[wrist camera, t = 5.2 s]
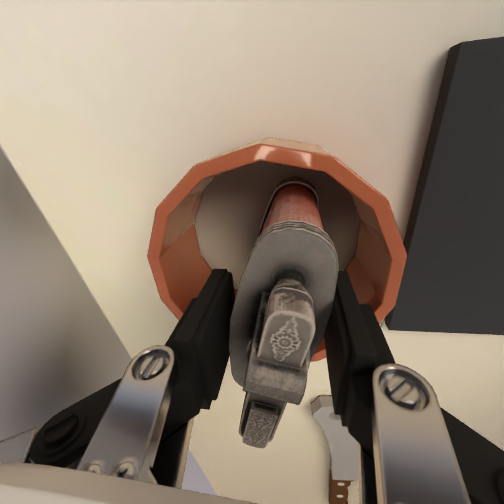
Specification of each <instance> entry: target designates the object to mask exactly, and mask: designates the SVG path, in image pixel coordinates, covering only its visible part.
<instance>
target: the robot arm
mask: <svg viewBox="0 0 504 504" xmlns="http://www.w3.org/2000/svg"><path fill="white" fill-rule="evenodd" d="M234 303H235V293H234V286H233V279H232V273H231V272H228V271H227V269H213V271H212V272H211V274H210V276H209V278H208V279H207V281H206V283H205V285H204V286H203V288H202V290H201V292H200V293H199V295H198V297H197V298H193V299H192V300H191V302H190V303H189V305H188V307H187V309H186V310H185V312H184V314H183V315H182V317H181V319H180V320H179V322H178V324H177V325H176V327H175V329H174V331H173V332H172V334H171V336H170V337H169V339H168V341H167V342H166V344H165V345H156V346H151V347H149V348H147V349H144V350H143V351H141V352H140V353H138V354H137V355H136V356H135V357H134V358H133V359H132V360H131V362H130V363H129V365H128V367H127V369H126V371H125V373H124V375H123V377H122V378H121V379H119V380H117V381H116V382H114V383H112V384H110V385H108V386H106V387H104V388H102V389H101V390H99V391H97V392H95V393H93V394H91V395H90V396H88V397H86V398H84V399H83V400H80V401H79V402H77V403H75V404H73V405H71V406H69V407H68V408H66V409H64V410H62V411H61V412H59V413H58V414H56V415H55V416H53V417H52V418H51V419H50V420H49V421H48V422H46V423H45V424H44V426H43V427H42V428H41V429H40V430H39V429H38V428H37V427H34V428H32V429H29V430H27V431H25V432H22V433H20V434H17V435H15V436H12V437H10V438H7V439H5V440H2V441H0V504H257V503H252V502H247V501H241V500H236V499H231V498H226V497H220V496H215V495H210V494H205V493H199V492H194V491H189V490H184V489H181V488H182V482H183V476H184V471H185V465H186V460H187V454H188V449H189V443H190V437H191V432H192V426H193V421H194V417H195V416H196V415H197V414H199V412H200V409H208V410H209V409H210V405H211V402H212V400H216V399H217V397H218V394H219V390H220V387H221V383H222V380H223V376H224V373H225V369H226V366H227V362H228V359H229V355H230V352H229V338H230V319H231V315H232V311H233V307H234ZM324 342H325V349H326V357H327V364H328V372H329V379H330V386H331V394H332V401H333V409H334V414H335V415H340V416H341V423H342V426H343V427H348V433H349V434H350V435H351V436H352V437H353V438H354V439H355V440H356V441H357V442H358V475H359V504H504V451H503V450H501V449H500V448H498V447H497V446H496V445H494V444H493V443H491V442H490V441H488V440H487V439H485V438H484V437H483V436H481V435H480V434H478V433H477V432H475V431H474V430H473V429H471V428H470V427H468V426H467V425H465V424H464V423H462V422H461V421H460V420H458V419H457V418H455V417H454V416H452V415H451V414H450V413H448V412H447V411H445V410H444V409H442V408H441V407H440V405H439V402H438V399H437V396H436V394H435V392H434V390H433V388H432V386H431V385H430V384H429V383H428V381H427V380H426V379H425V378H424V377H422V376H421V375H420V374H419V373H417V372H416V371H414V370H412V369H410V368H408V367H406V366H403V365H400V364H396V363H395V361H394V358H393V356H392V354H391V351H390V349H389V346H388V344H387V342H386V339H385V337H384V335H383V332H382V330H381V327H380V325H379V323H378V320H377V318H376V316H375V313H374V311H373V309H372V307H371V305H368V304H359V303H358V300H357V297H356V294H355V291H354V289H353V286H352V283H351V280H350V277H349V275H348V272H347V271H338V276H337V282H336V288H335V295H334V300H333V307H332V310H331V313H330V317H329V320H328V323H327V326H326V329H325V332H324Z"/></svg>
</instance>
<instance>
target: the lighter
mask: <svg viewBox="0 0 504 504" xmlns="http://www.w3.org/2000/svg"><path fill="white" fill-rule="evenodd" d="M318 210H319V199H318V194H317V192H316V190H315V188H314V187H313V186H312V185H311V184H310V183H308V182H307V181H304V180H302V179H293V178H291V179H287V180H284V181H282V182H281V183H279V184H278V185H277V186H276V188H275V189H274V191H273V193H272V195H271V198H270V200H269V203H268V205H267V208H266V210H265V213H264V215H263V218H262V222H261V226H260V229H259V233H258V237H257V241H256V244H254V245H253V248H252V251H251V254H250V257H249V259H248V263H247V266H246V268H245V270H244V273H243V276H242V278H241V281H240V284H239V287H238V291H237V295H236V299H235V303H234V307H233V311H232V315H231V319H230V338H229V352H230V363H231V372H232V376H233V378H234V380H235V381H236V382H237V383H238V384H239V385H240V386H242V387H243V391H245V392H246V395H245V400H244V404H243V410H242V415H241V421H240V426H239V434H240V436H241V437H243V443H245V444H246V445H249V446H253V447H257V448H265V447H266V446H267V443H268V442H271V440H272V439H273V436H274V434H275V431H276V429H277V426H278V424H279V421H280V419H281V417H282V414H283V412H284V409H285V407H286V404H287V402H288V403H292V404H296V405H299V404H300V402H301V400H302V398H303V396H304V392H305V388H306V382H307V372H308V369H309V364H310V361H311V359H312V358H313V356H314V354H315V352H316V350H317V349H318V347H319V345H320V343H321V341H322V338H323V335H324V332H325V329H326V326H327V323H328V320H329V317H330V313H331V310H332V307H333V300H334V295H335V288H336V282H337V276H338V269H339V264H338V255H337V252H336V249H335V246H334V244H333V242H332V240H331V239H330V237H329V235H328V234H327V233H326V232H324V230H323V227H322V223H321V219H320V216H319V212H318Z"/></svg>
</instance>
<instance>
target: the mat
mask: <svg viewBox="0 0 504 504" xmlns="http://www.w3.org/2000/svg"><path fill="white" fill-rule="evenodd" d="M404 247H405V250H406V253H407V259H406V263H405V267H404V271H403V275H402V279H401V283H400V287H399V291H398V295H397V299H396V303H395V306H394V308H393V309H392V310H391V311H390V312H389V313H388V314H387V316H386V320H385V323H386V325H387V327H388V330H400V331H423V332H446V333H470V334H493V335H504V37H498V38H490V39H482V40H474V41H466V42H461V43H459V44H457V45H455V46H453V47H451V48H450V50H449V54H448V59H447V63H446V67H445V71H444V75H443V80H442V84H441V88H440V92H439V97H438V101H437V105H436V109H435V113H434V118H433V122H432V126H431V130H430V134H429V139H428V143H427V147H426V151H425V156H424V160H423V164H422V168H421V172H420V177H419V181H418V185H417V189H416V193H415V198H414V202H413V206H412V210H411V215H410V219H409V223H408V227H407V231H406V236H405V240H404Z"/></svg>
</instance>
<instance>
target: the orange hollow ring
mask: <svg viewBox="0 0 504 504" xmlns="http://www.w3.org/2000/svg"><path fill="white" fill-rule="evenodd" d="M258 161H265V162H270V163H276V164H282V165H288V166H293V167H299V168H305V169H310V170H316V171H322V172H325V173H326V174H328V175H329V176H330V177H332V178H333V179H334V180H335V181H337V182H338V183H339V184H341V185H342V186H343V187H344V188H346V189H347V190H348V191H350V193H351V196H352V198H353V201H354V203H355V206H356V208H357V211H358V213H359V215H360V218H361V222H360V229H359V237H358V244H357V251H356V255H355V256H354V258H353V259H352V261H351V262H350V263H349V265H348V266H347V268H346V269H345V270H344V271H347V272H348V275H349V277H350V280H351V283H352V286H353V289H354V291H355V294H356V297H357V300H358V303H359V304H368V305H371V307H372V309H373V311H374V313H375V316H376V318H377V320H378V323H380V322H381V321H382V320H383V318H384V317H385V316H386V315H387V314H388V313H389V312H390V311H391V310H392V309H393V308H394V306H395V303H396V299H397V295H398V291H399V287H400V283H401V279H402V275H403V271H404V267H405V263H406V259H407V253H406V250H405V247H404V244H403V242H402V239H401V236H400V233H399V230H398V227H397V224H396V221H395V218H394V216H393V213H392V210H391V207H390V204H389V201H388V200H387V199H386V197H384V196H383V195H382V194H381V193H379V192H378V191H377V190H376V189H374V188H373V187H372V186H371V185H369V184H368V183H367V182H366V181H364V180H363V179H362V178H361V177H359V176H358V175H357V174H356V173H354V172H353V171H352V170H351V169H349V168H348V167H347V166H346V165H344V164H343V163H342V162H341V161H339V160H338V159H337V158H336V157H334V156H333V155H331V154H330V153H329V152H327V151H326V150H324V149H323V148H321V147H320V146H318V145H312V144H306V143H301V142H295V141H289V140H283V139H277V138H271V137H270V138H266V139H263V140H260V141H257V142H254V143H251V144H248V145H245V146H242V147H239V148H236V149H233V150H230V151H227V152H224V153H222V154H220V155H217V156H215V157H212V158H210V159H208V160H205V161H203V162H200V163H198V164H196V165H195V166H193V167H192V168H191V169H190V170H189V172H188V173H187V174H186V175H185V176H184V177H183V178H182V180H181V181H180V182H179V183H178V184H177V185H176V186H175V187H174V189H173V190H172V191H171V192H170V193H169V194H168V195H167V197H166V198H165V199H164V200H163V201H162V202H161V203H160V204H159V206H158V207H157V208H156V212H155V217H154V223H153V228H152V234H151V239H150V245H149V250H148V255H147V257H148V261H149V264H150V267H151V270H152V273H153V276H154V279H155V282H156V286H157V289H158V292H159V295H160V298H161V300H162V302H163V303H164V304H165V305H166V306H167V307H168V308H169V310H170V311H171V312H172V313H173V314H174V315H175V317H176V318H177V319H178V320H180V319H181V317H182V315H183V314H184V312H185V310H186V309H187V307H188V305H189V303H190V302H191V300H192V299H193V298H197V297H198V295H199V293H200V292H201V290H202V288H203V286H204V285H205V283H206V281H207V279H208V278H209V276H210V274H211V272H212V270H211V269H210V267H209V266H208V265H207V263H206V262H205V260H204V259H203V258H202V256H201V255H200V250H199V245H198V240H197V236H196V231H195V226H194V222H195V218H196V214H197V211H198V207H199V204H200V200H201V197H202V193H203V190H204V189H205V188H206V187H207V186H208V185H209V184H210V183H211V181H212V180H213V179H214V178H215V177H216V176H217V175H218V174H220V173H223V172H227V171H230V170H233V169H236V168H239V167H242V166H246V165H249V164H252V163H255V162H258ZM234 293H235V299H236V295H237V291H235V290H234ZM324 358H326V349H325V342H324V335H323V338H322V341H321V343H320V345H319V347H318V349H317V350H316V352H315V354H314V356H313V358H312V359H311V361H310V362H313V361H319V360H322V359H324Z"/></svg>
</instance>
